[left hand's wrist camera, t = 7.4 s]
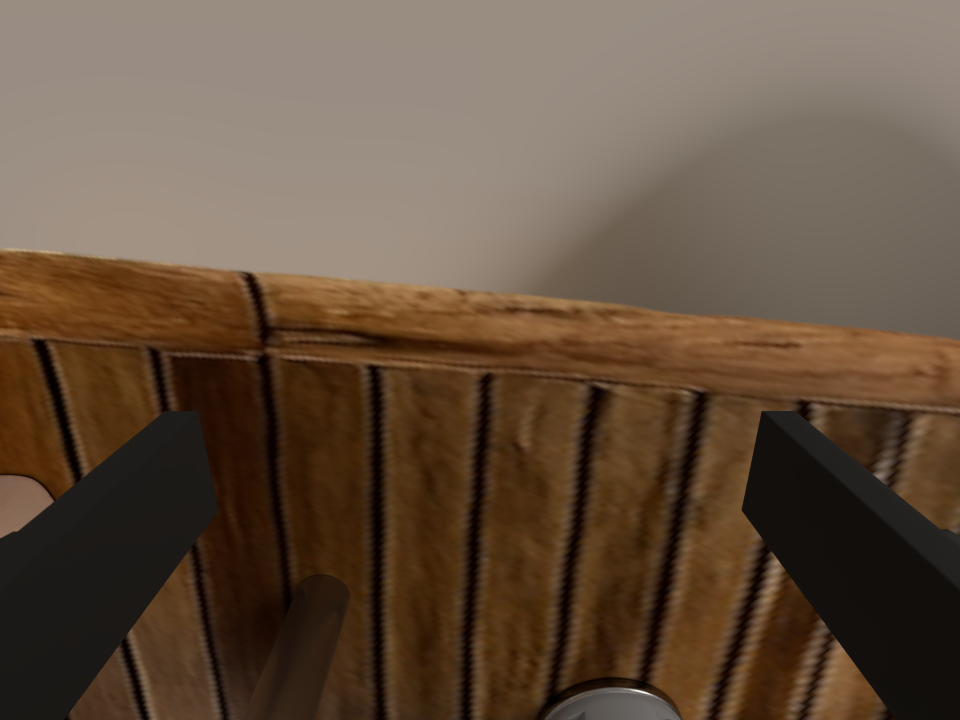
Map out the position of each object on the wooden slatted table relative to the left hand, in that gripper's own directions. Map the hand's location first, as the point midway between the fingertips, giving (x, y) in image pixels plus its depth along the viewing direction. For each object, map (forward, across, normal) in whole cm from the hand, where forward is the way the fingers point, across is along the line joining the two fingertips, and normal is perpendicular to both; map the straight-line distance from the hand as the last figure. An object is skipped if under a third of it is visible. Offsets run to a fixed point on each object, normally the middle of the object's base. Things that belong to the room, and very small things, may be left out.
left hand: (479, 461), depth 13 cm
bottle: (+28, +14, +31) cm, 44 cm away
